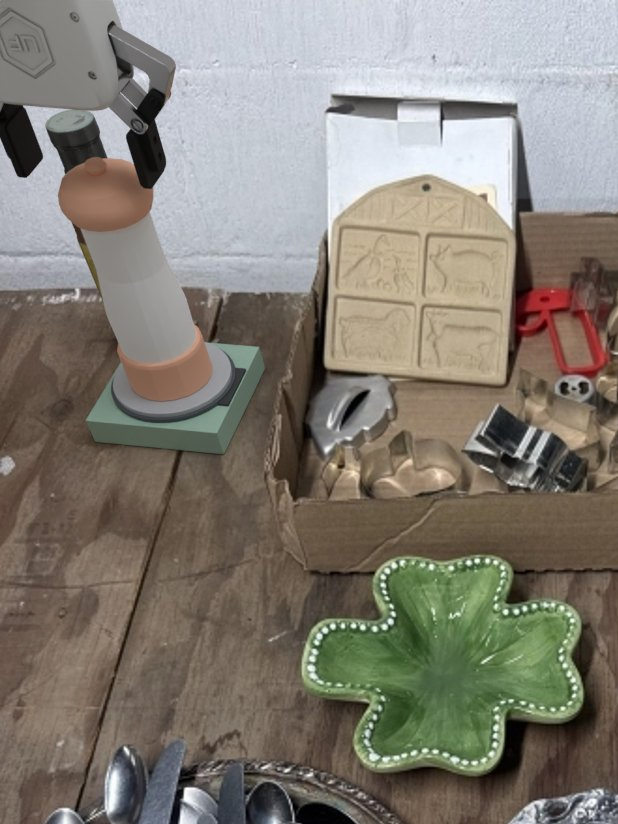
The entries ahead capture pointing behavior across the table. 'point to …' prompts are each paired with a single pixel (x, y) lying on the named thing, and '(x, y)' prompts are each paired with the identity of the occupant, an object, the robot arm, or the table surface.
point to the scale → (181, 407)
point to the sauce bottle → (77, 154)
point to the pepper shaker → (136, 280)
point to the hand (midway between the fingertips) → (92, 173)
